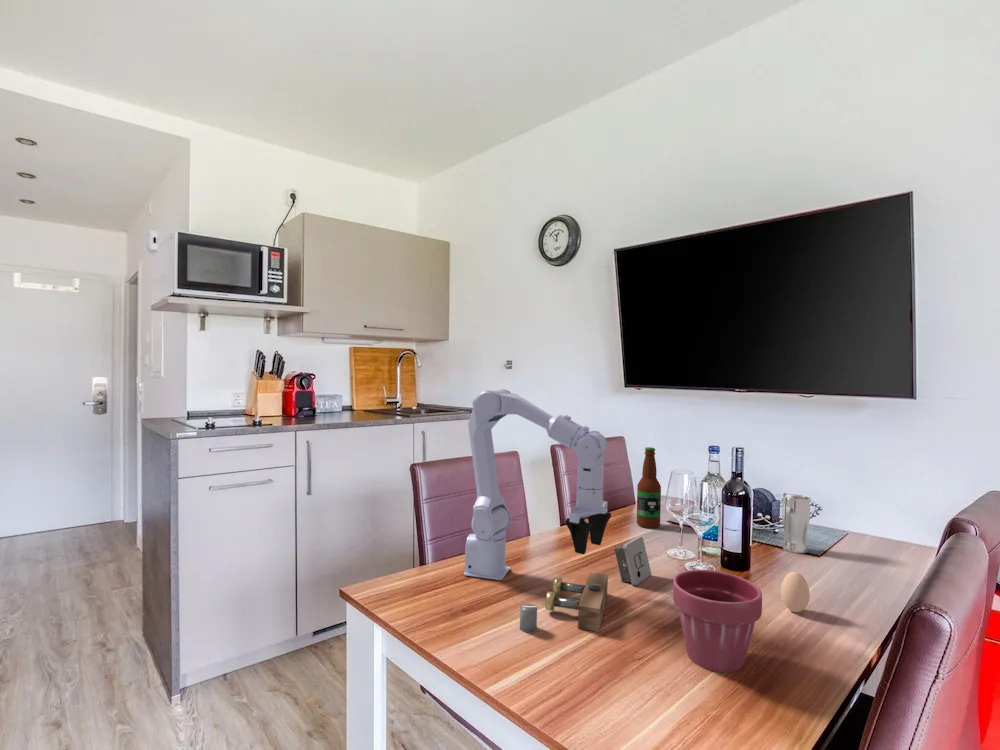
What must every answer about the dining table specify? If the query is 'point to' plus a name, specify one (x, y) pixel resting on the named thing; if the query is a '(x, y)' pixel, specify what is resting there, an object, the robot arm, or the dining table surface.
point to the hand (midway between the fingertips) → (588, 548)
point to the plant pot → (716, 617)
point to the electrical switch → (633, 561)
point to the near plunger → (560, 602)
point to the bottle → (649, 493)
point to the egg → (795, 592)
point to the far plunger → (566, 587)
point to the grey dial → (528, 618)
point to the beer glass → (795, 522)
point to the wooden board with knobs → (593, 602)
